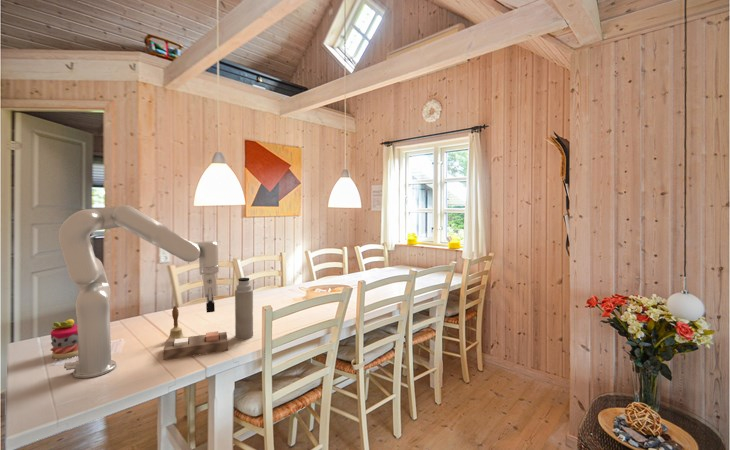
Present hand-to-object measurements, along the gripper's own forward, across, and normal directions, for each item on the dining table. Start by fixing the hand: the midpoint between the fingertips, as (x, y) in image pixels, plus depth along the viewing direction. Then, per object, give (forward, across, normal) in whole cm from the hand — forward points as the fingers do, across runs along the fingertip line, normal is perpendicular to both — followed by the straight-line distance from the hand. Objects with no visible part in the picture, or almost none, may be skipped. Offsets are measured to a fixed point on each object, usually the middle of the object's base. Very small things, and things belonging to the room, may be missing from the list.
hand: (210, 311), depth 149 cm
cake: (+15, +15, +54) cm, 58 cm away
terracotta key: (+13, 0, 0) cm, 13 cm away
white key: (+14, 0, +12) cm, 18 cm away
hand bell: (+16, +15, +15) cm, 26 cm away
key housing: (+16, 0, +6) cm, 17 cm away
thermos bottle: (+16, +8, -14) cm, 23 cm away
